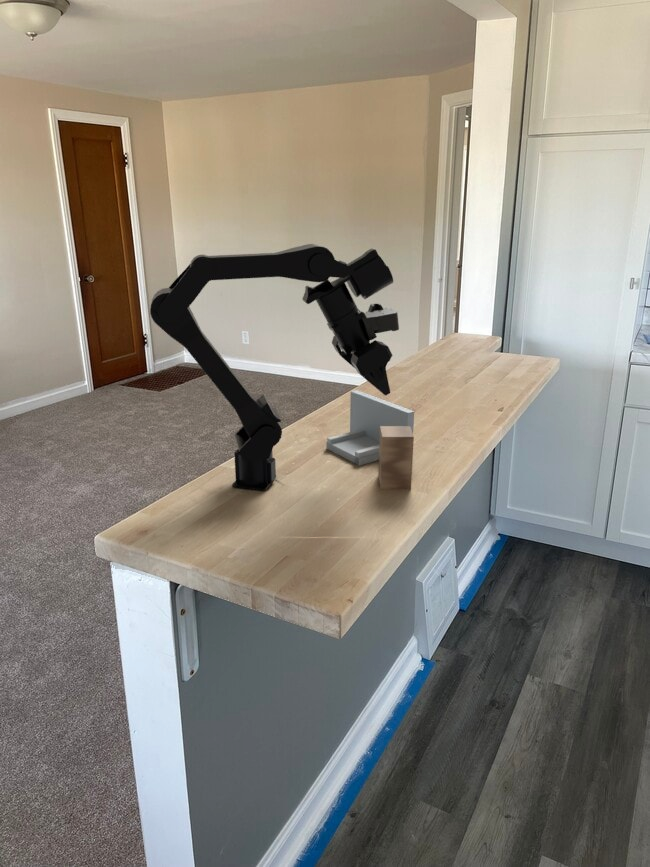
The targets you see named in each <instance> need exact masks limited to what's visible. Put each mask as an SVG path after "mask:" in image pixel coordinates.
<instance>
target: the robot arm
mask: <svg viewBox="0 0 650 867" xmlns="http://www.w3.org/2000/svg"><path fill="white" fill-rule="evenodd" d="M392 274H393V273H392V272H391V270H390V267H389V266H388V265H387V264H386V263H385V262H384V259H383V258H382V257H381V256H380V255H379V253H378V251H377V250H376V249H374V248H370V249H368V250H366V251H365V252H364V253H363V254H362V255H359V256H358V257H356V258H355V259H353V260H351V261H350V262H348V263H347V262H346V261H345V262H344V261H342V260H338V259H335V257H334V255H333V252H332V251H330V249H328V248H327V247H325V246H322V245H319V244H315V243H308V244H304V245H300V246H299V245H298V246H295V247H291V248H287V249H284V250H281V251H277V252H264V253H263V252H262V253H245V254H243V253H240V254H239V253H238V254H221V255H219V254H217V255H206V254H198V255H196V256H194V257H193V258H192V260H190V263H189V265H188V266H186V268H185V269H184V270H183V271H182V272H181V273H180V274H179V275H178V276H177V277H176V279H174V280H173V282H171V284H170V286H168V287H165V288H160V289H159V290H158V291H156V293H154V294H153V297H152V299H151V302H150V309H149V310H150V311H149V312H150V316H151V319H152V321H153V322H154V323H155V324H156V325H157V326H158V328H160V329H161V330H162V331H163V332H164V333H166V334H167V335H168V336H169V337H170V338H172V339H173V340H174V341H176V342H177V343H178V344H180V345H182V347H183V348H185V349H186V350H187V352H188V353H189V354H190V355H191V357H192V358H193V359H194V360H195V362H196V363H197V364H198V366H200V368H201V369H202V371H203V372H204V373H205V374H206V375H207V377H209V380H211V382H212V383H213V384H214V386H215V387H216V388H217V390H219V391H220V393H221V394H222V395H223V397H224V398H225V399H226V400H227V402H228V403H229V404H230V405H231V407H232V408H233V409H234V411H235V413H236V415H237V417H238V418H239V420H240V422H241V425H242V426H241V428H239V429H238V430H237V431H236V432H235V433H234V438H235V440H236V445H237V449H236V450H235V451H234V452H233V453H234V454H233V456H234V472H235V474H234V475H235V481H233V482H232V484H231V485H232V488H238V489H245V490H247V489H248V490H253V491H255V490H256V491H264V492H265V491H266V490H268V489H269V487H270V486H271V484H273V483H274V481H275V480H276V478H277V472H276V468H277V466H276V459H275V457H273V449H274V447H275V446H276V445H277V444H278V443H279V442H280V440H281V439H282V434H283V429H282V427H281V422H282V420H281V418H280V416H279V413H278V411H277V409H276V408H274V406H272V405H271V404H270V403H269V401H268V400H267V397H266V396H265V394H261V395H260V396H259V397H258V398H257V397H256V396H255V395H254V394H253V393H251V392H250V391H249V390H248V389H247V387H246V386H245V385H244V383H243V382H242V381H241V380H240V378H239V376H237V375H236V373H235V372H234V370H233V369H232V368H231V367H230V366H229V364H228V363H227V362H226V360H225V359H224V358H223V356H222V355H221V354H220V353H219V352H218V351H219V350H217V349H216V348H215V346H214V345H213V344H212V343H211V341H210V339H208V337H207V336H206V334H204V332H203V331H202V329H201V327H200V325H199V323H198V321H197V318H196V317H195V315H194V312H193V311H192V308H190V307H191V305H192V303H193V302H194V301H195V300H196V299H197V297H198V296H199V294H201V292H202V291H203V289H204V288H205V287H206V285H207V284H208V283H209V282H211V281H225V280H242V279H261V278H279V277H280V278H285V279H291V280H297V281H303V282H304V281H305V282H311V283H318V284H317V285H315V286H314V287H312V286H309V285H305V287H304V293H303V296H302V301H303V302H304V303H306V305H310V304H312V303H313V302H316V303H317V306H318V307H319V309H320V311H321V312H322V314H323V316H324V319H325V320H326V322H327V324H326V325H327V327H328V329H330V331H332V333H333V337H332V340H331V344H332V347H333V348H334V350H335V351H336V353H337V354H338V355H339V356H340V357H341V358H342V359H343V360H344V361H346V362H347V363H348V364H349V365H350V366H351V367H352V368H354V369H355V370H356V372H357V373H358V374H359V376H361V377H363V379H365V380H366V381H367V382H369V384H371V385H372V386H373V387H375V388H376V389H377V391H379V392H380V393H382V394H383V396H387V395H389V394H390V393H391V388H390V384H389V379H388V373H387V365H388V363H389V362H390V361H391V359H392V357H393V353H392V351H391V349H390V347H389V346H388V345H387V344H386V343H384V342H383V341H379V340H376V339H377V334H380V333H386V332H390V331H392V332H396V331H399V329H400V327H399V326H400V325H399V316H398V311H397V310H395V309H392V308H388V307H385V308H384V307H383V305H382V304H381V303H378V302H376V303H374V302H373V303H370V304H369V307H368V310H367V311H365V312H364V311H361V310H360V309H359V308H358V306H357V304H356V302H355V300H354V298H353V296H355V298H358V297H361V298H363V299H364V300H366V299H368V298H370V297H371V296H373V295H374V294H376V293H379V292H380V291H382V290H383V289H385V288H387V287H389V286H390V285H392V284H393V283H394V278H393V275H392ZM329 278H336V279H335V280H333V281H330V280H329ZM346 283H347V285H346ZM347 286H348V287H349V289H350V291H351V292H352V294H353V296H352V294H351V292H350V291H349V289H348V287H347Z"/></svg>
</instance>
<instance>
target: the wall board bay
mask: <svg viewBox="0 0 650 867" xmlns="http://www.w3.org/2000/svg"><path fill="white" fill-rule="evenodd" d="M349 402H350V406H349V407H350V409H349V410H350V413H349V414H350V415H349V416H350V418H349V431H348V432H345V433H341V434H337V435H334V436H329V437H327V439H326V444H325V445H326V446H325V447H326V449H327V450H328V451H330V452H331V453H334V454H335V455H338V456H340V457H343V459H346V460H348V461H350V462H351V463H353V464H356V465H357V466H359V467H360V466H362V465H366V464H370V463H373V462H376V461H379V440H380V426H410V427H411V430H412V433H413V434H414V424H415V423H414V422H415V411H414V410H411V409H409V408H405V407H403V406H401V405H397V404H395V403H392V402H389V401H387V400H384V399H381V398H379V397H376V396H373V395H370V394H367V393H365V392H363V391H360V390H357V389H355V390H351V391H350V401H349Z"/></svg>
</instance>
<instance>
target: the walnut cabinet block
mask: <svg viewBox="0 0 650 867" xmlns="http://www.w3.org/2000/svg"><path fill="white" fill-rule="evenodd" d="M414 439H415V437H414V432H413V433H412V430H411V427H410V426H380V440H379V460H378V474H377V477H378V482H379V487H380V488H379V489H380V490H381V489H383V490H384V489H385V490H389V489H390V490H399V489H400V490H411V489H412V475H413V459H414V458H413V456H414V443H415V442H414V441H415V440H414Z"/></svg>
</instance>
